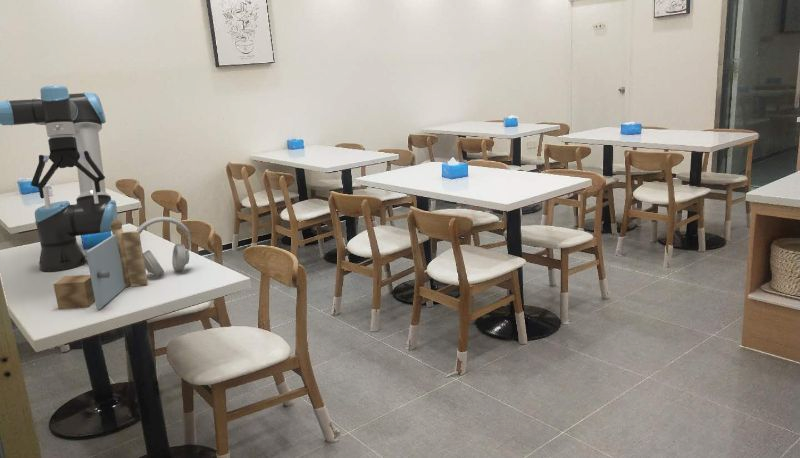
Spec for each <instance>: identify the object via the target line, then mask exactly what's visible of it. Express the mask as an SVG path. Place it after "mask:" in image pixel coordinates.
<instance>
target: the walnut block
mask: <svg viewBox="0 0 800 458" xmlns="http://www.w3.org/2000/svg"><path fill="white" fill-rule="evenodd" d="M53 289H54V293H55V298H56V304H57V308H58V310H66V309H79V308H90V307H91V306H92V305H93V304H96V302H95V297H94V292H93V287H92V281H91V276H90V274H80V275H79V274H78V275H68V276H67V275H65V276H63V277H62V278H60V279H58V280H57V281H56V282H54V283H53Z"/></svg>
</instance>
